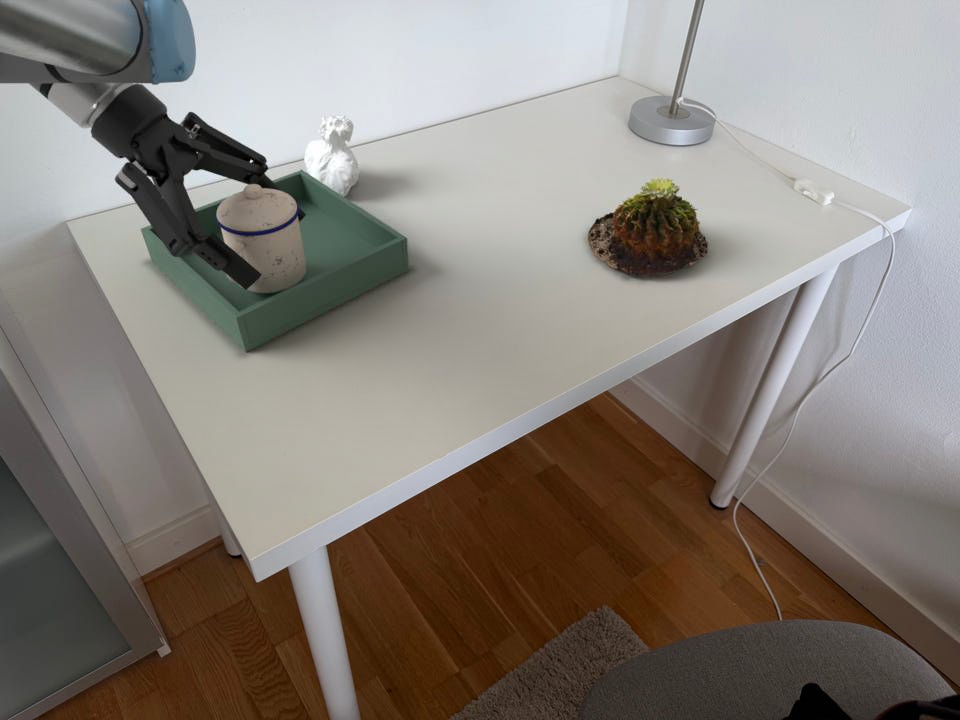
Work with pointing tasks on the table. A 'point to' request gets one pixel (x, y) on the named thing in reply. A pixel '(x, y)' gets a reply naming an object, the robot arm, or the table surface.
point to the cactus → (650, 232)
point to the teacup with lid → (265, 236)
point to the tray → (329, 260)
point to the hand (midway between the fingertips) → (278, 250)
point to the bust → (333, 155)
